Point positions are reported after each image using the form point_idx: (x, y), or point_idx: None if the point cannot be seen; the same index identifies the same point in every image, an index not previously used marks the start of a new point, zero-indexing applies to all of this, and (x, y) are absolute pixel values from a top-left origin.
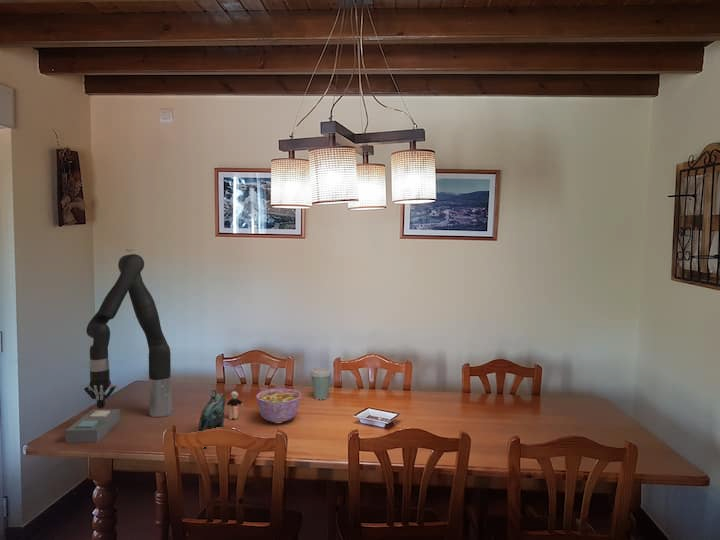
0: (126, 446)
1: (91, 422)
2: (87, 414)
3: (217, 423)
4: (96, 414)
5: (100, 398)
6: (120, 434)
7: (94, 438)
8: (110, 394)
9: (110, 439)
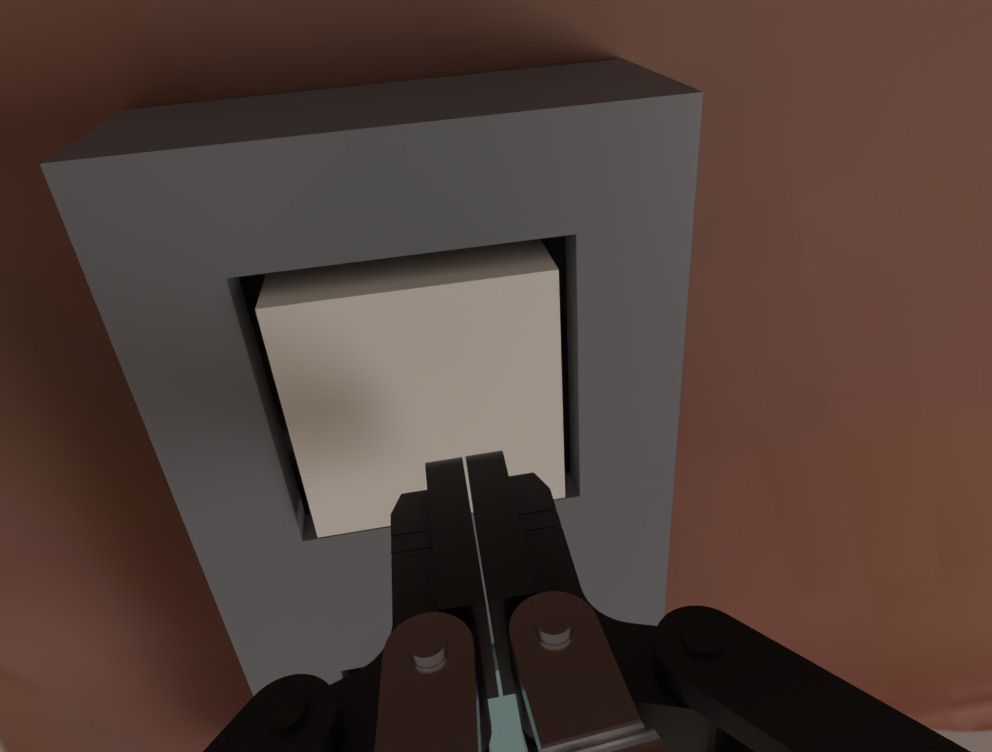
0: (874, 678)
1: (506, 712)
2: (188, 440)
3: None
4: (398, 478)
5: (533, 750)
6: (771, 505)
7: None
8: (807, 686)
9: None
